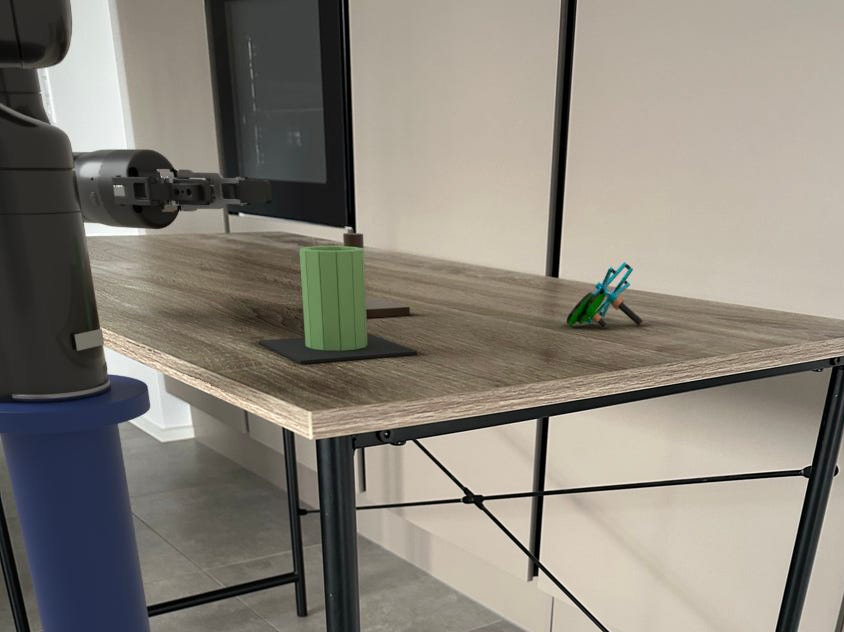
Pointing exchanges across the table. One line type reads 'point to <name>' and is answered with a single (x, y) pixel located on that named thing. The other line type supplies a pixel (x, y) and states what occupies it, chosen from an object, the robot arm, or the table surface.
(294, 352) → the mat
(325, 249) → the green pencil cup
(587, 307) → the stick construction toy
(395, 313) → the stand
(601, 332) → the table surface
